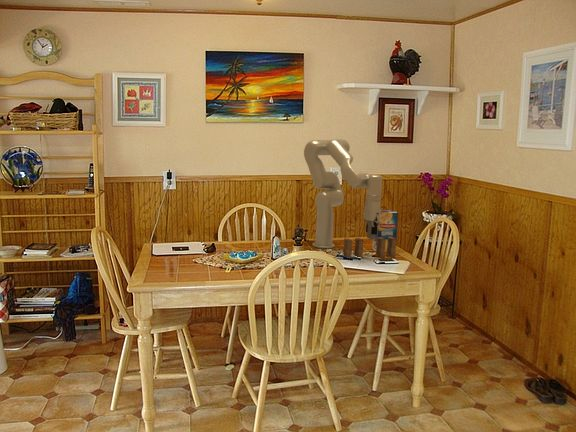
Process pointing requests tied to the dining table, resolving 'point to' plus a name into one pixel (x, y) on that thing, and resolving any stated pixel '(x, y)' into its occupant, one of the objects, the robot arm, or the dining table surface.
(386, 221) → the beverage box
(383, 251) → the domino
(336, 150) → the robot arm
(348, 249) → the domino
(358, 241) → the domino
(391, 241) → the domino
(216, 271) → the dining table surface
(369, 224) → the domino
